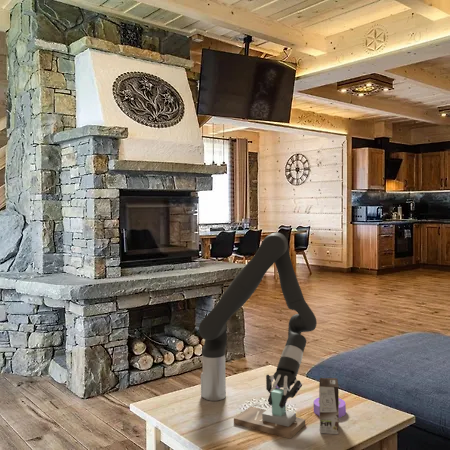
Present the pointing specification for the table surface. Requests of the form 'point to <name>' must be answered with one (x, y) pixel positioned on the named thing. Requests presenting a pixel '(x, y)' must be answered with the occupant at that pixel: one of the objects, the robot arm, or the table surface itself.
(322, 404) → the coffee box
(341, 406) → the masking tape
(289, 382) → the robot arm
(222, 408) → the table surface
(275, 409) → the block
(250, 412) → the walnut board
